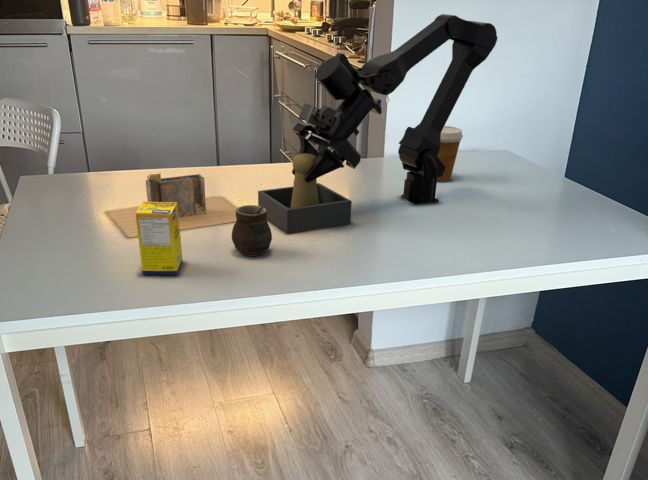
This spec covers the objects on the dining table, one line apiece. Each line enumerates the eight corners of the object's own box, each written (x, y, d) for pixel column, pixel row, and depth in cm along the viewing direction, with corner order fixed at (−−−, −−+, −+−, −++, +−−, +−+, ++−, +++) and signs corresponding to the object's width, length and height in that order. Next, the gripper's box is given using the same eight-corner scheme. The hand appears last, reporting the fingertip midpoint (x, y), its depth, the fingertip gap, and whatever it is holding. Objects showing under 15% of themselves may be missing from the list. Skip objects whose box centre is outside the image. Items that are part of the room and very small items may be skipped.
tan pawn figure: (285, 206, 139) (284, 153, 134) (309, 201, 142) (309, 149, 137) (300, 215, 135) (301, 160, 130) (325, 209, 138) (326, 156, 133)
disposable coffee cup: (416, 180, 166) (421, 131, 160) (422, 171, 174) (427, 123, 168) (454, 185, 164) (461, 135, 158) (459, 175, 172) (465, 127, 166)
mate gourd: (252, 241, 127) (251, 189, 122) (281, 251, 123) (281, 198, 118) (224, 251, 122) (221, 198, 117) (254, 263, 118) (252, 208, 113)
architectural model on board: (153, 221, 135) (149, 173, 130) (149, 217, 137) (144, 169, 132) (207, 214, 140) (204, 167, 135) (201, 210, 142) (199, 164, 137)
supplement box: (182, 262, 118) (178, 201, 112) (177, 276, 113) (172, 213, 107) (148, 261, 117) (142, 200, 112) (141, 275, 112) (134, 212, 107)
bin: (318, 204, 148) (319, 182, 146) (350, 223, 138) (351, 200, 135) (258, 213, 142) (257, 190, 139) (287, 233, 132) (287, 210, 129)
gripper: (301, 80, 136) (253, 141, 136) (350, 96, 122) (296, 163, 123) (333, 117, 143) (287, 175, 144) (382, 136, 129) (332, 199, 130)
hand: (299, 177), depth 135 cm, fingers closed on tan pawn figure, 5 cm apart
